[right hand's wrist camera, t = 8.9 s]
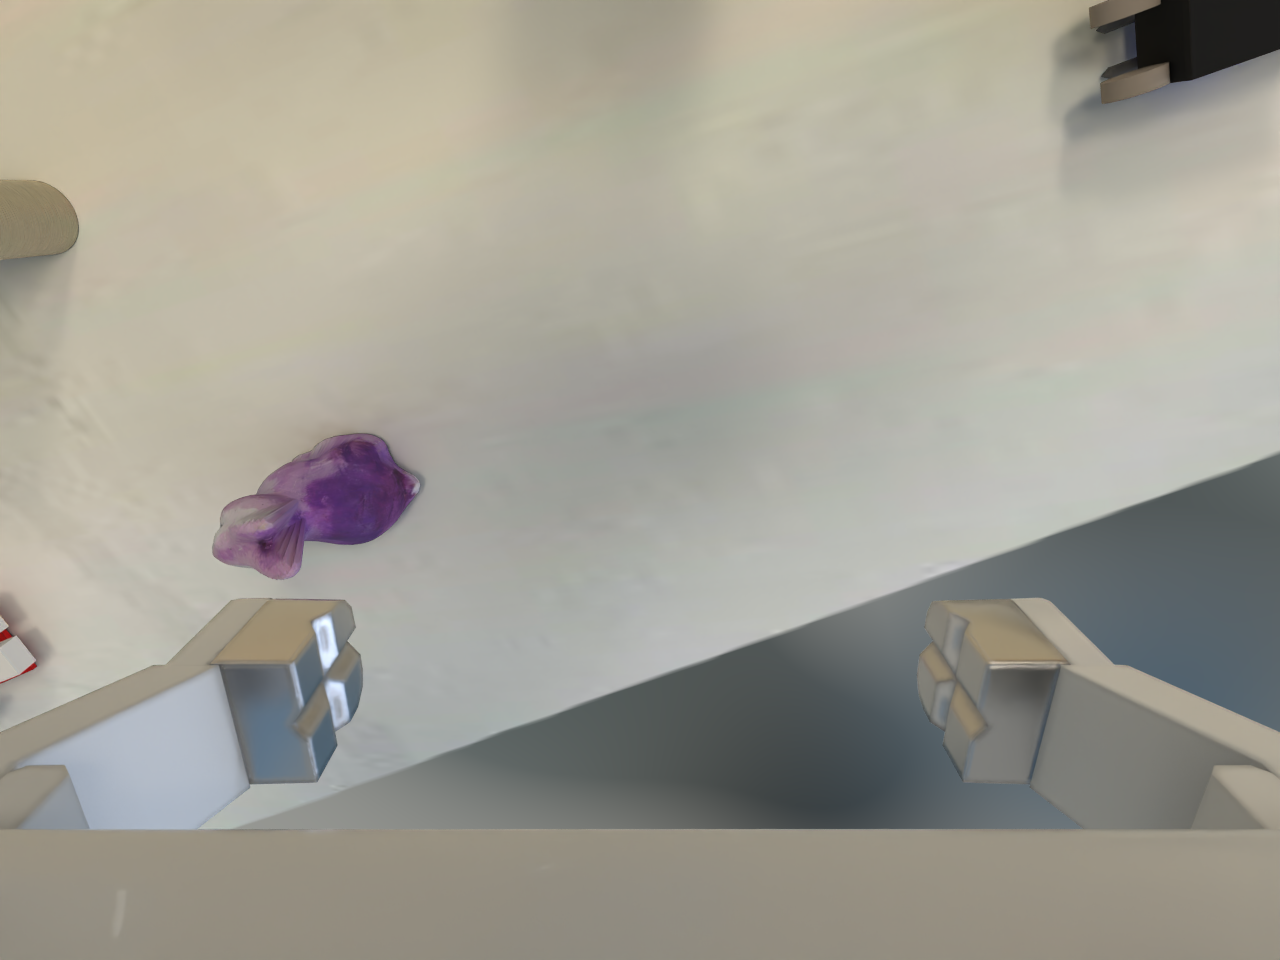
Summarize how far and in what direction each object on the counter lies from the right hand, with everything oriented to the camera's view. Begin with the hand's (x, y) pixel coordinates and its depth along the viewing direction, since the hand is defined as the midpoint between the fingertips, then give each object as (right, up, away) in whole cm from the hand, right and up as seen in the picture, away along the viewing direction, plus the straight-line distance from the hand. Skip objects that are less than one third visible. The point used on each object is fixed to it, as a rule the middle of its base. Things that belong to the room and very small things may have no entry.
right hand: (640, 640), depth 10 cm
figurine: (-24, +2, +49) cm, 55 cm away
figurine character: (+36, +32, +37) cm, 61 cm away
